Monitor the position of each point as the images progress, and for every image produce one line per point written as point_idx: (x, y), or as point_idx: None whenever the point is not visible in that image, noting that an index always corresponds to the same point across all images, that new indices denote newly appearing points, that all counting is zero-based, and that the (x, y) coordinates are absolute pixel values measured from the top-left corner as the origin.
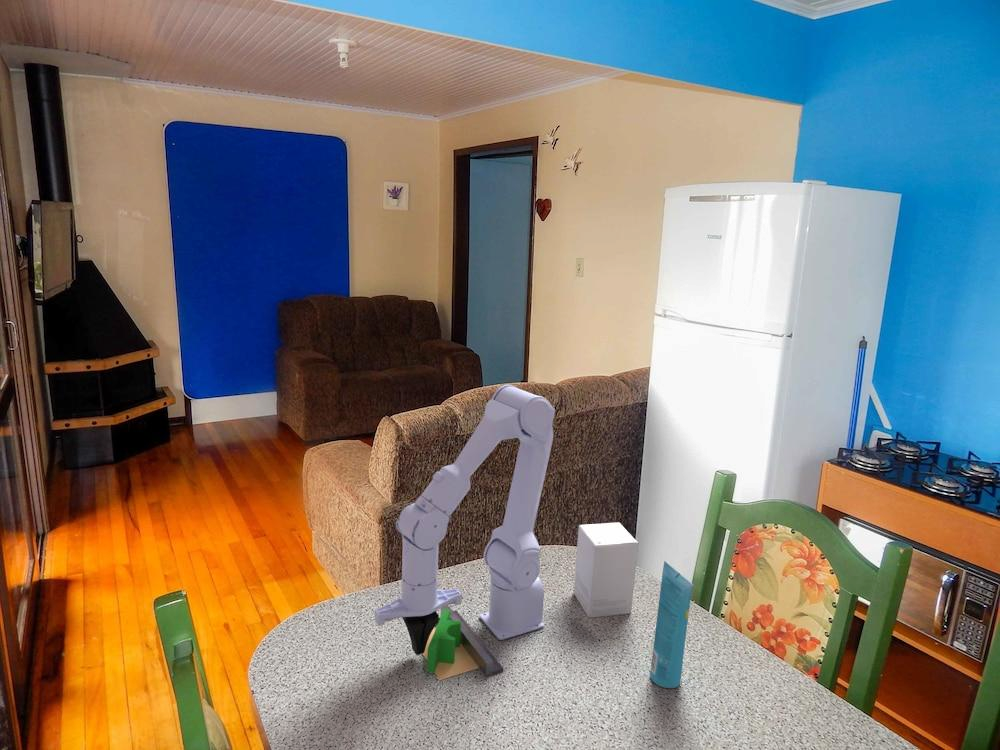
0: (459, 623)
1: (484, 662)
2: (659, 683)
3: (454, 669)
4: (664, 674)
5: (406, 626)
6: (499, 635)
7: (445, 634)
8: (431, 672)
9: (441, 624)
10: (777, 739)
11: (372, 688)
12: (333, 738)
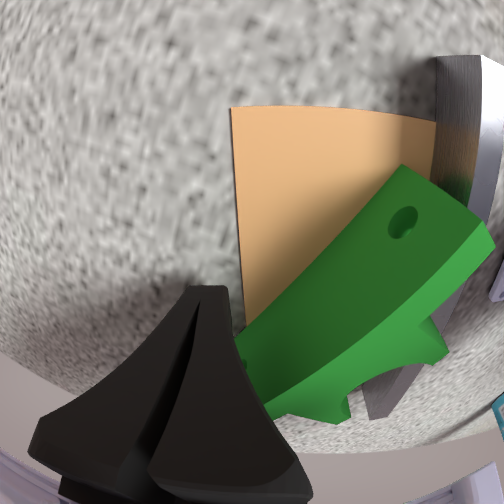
0: (435, 359)
1: (371, 411)
2: (492, 407)
3: None
4: (496, 419)
5: (119, 367)
6: (498, 290)
7: (328, 405)
8: None
9: (363, 355)
10: (472, 434)
11: (72, 329)
12: (44, 377)
